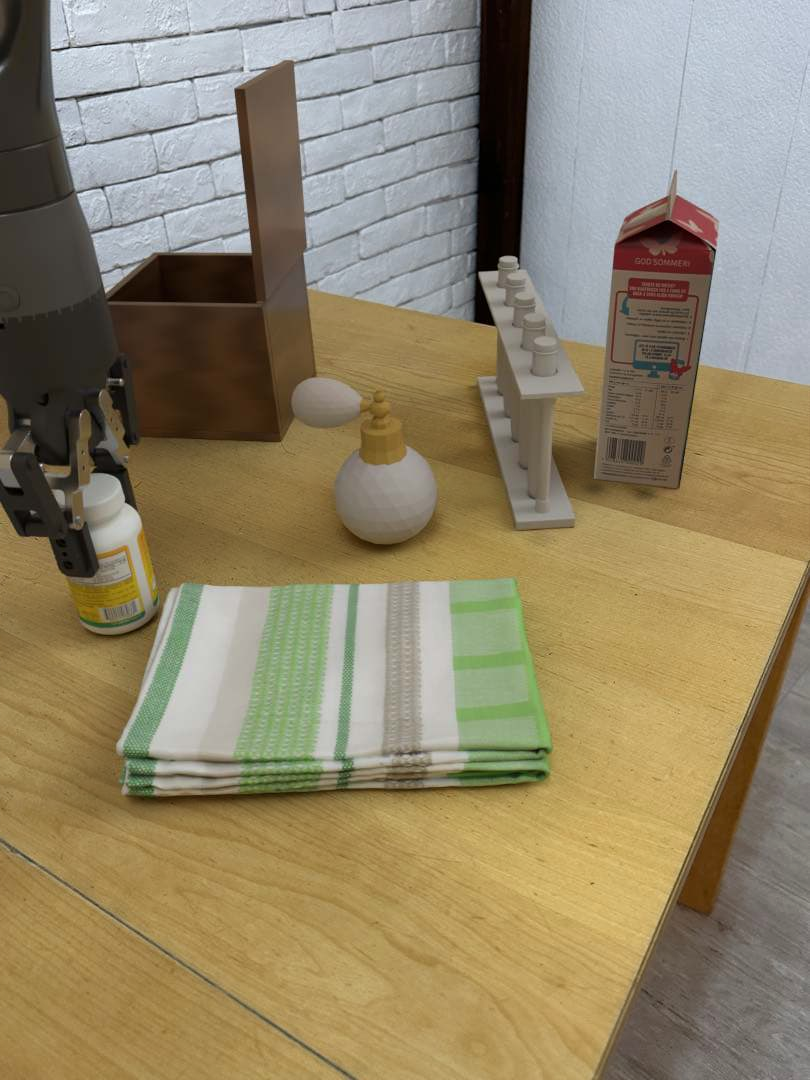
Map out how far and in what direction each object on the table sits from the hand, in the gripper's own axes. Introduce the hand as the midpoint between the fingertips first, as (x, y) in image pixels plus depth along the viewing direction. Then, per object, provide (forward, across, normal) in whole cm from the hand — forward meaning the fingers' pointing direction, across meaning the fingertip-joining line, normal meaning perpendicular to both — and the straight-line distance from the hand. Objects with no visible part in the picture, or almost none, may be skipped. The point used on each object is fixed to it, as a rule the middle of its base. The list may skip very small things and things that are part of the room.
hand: (102, 544), depth 57 cm
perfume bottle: (+6, -11, +15) cm, 20 cm away
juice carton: (+6, -23, +35) cm, 42 cm away
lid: (-15, -31, +4) cm, 35 cm away
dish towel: (+6, +5, +16) cm, 18 cm away
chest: (+6, -31, -3) cm, 32 cm away
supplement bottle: (+6, 0, 0) cm, 6 cm away
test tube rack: (+6, -25, +25) cm, 36 cm away
